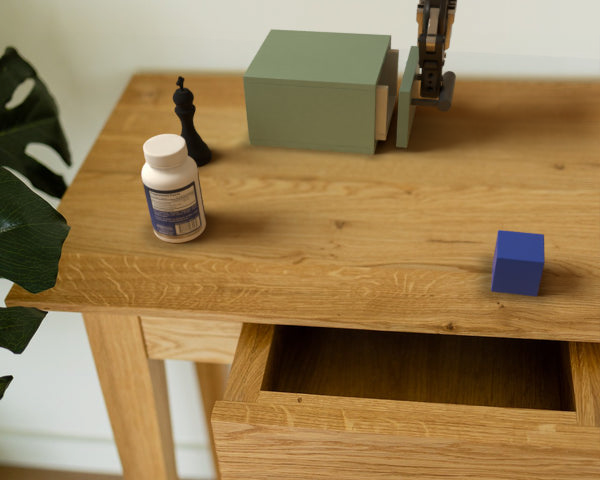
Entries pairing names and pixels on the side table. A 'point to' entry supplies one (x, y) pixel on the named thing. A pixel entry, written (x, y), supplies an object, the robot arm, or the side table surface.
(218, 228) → the side table surface
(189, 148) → the chess piece
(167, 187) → the pill bottle
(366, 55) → the green drawer cabinet
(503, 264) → the blue rectangular box
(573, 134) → the side table surface
